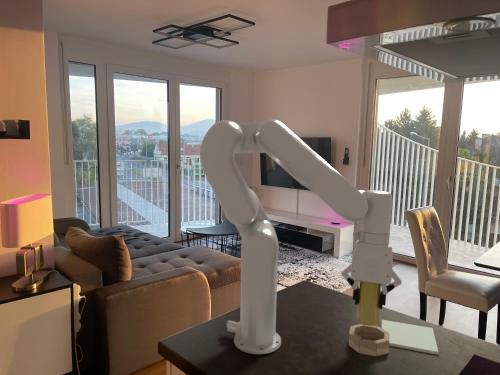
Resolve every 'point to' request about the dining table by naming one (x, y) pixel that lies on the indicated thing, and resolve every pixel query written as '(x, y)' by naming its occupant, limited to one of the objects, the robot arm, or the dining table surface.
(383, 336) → the ring
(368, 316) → the vase
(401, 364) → the dining table surface
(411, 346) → the mat
